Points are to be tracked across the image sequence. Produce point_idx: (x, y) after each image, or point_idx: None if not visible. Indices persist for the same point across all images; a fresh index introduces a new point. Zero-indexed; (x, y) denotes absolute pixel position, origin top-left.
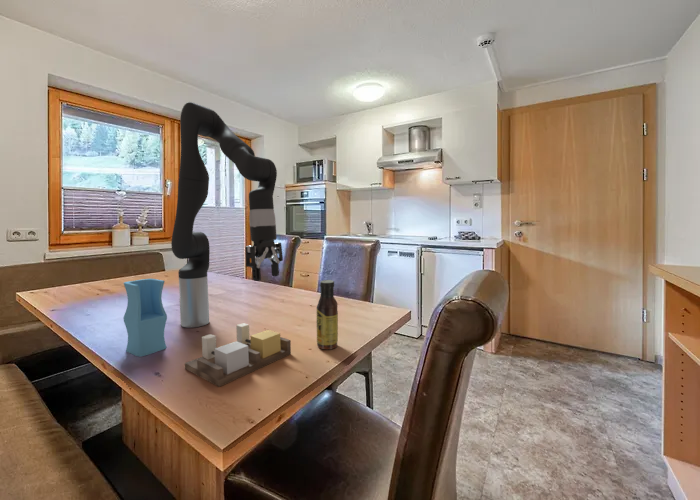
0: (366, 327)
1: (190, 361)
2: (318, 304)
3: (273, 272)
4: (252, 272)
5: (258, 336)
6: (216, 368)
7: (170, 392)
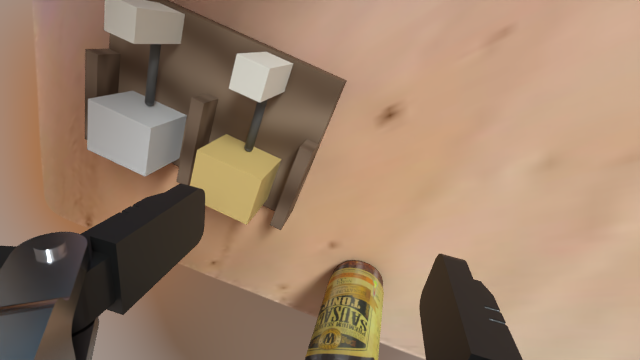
0: (522, 356)
1: None
2: None
3: (437, 290)
4: (107, 220)
5: (203, 175)
6: (86, 130)
7: (56, 43)
